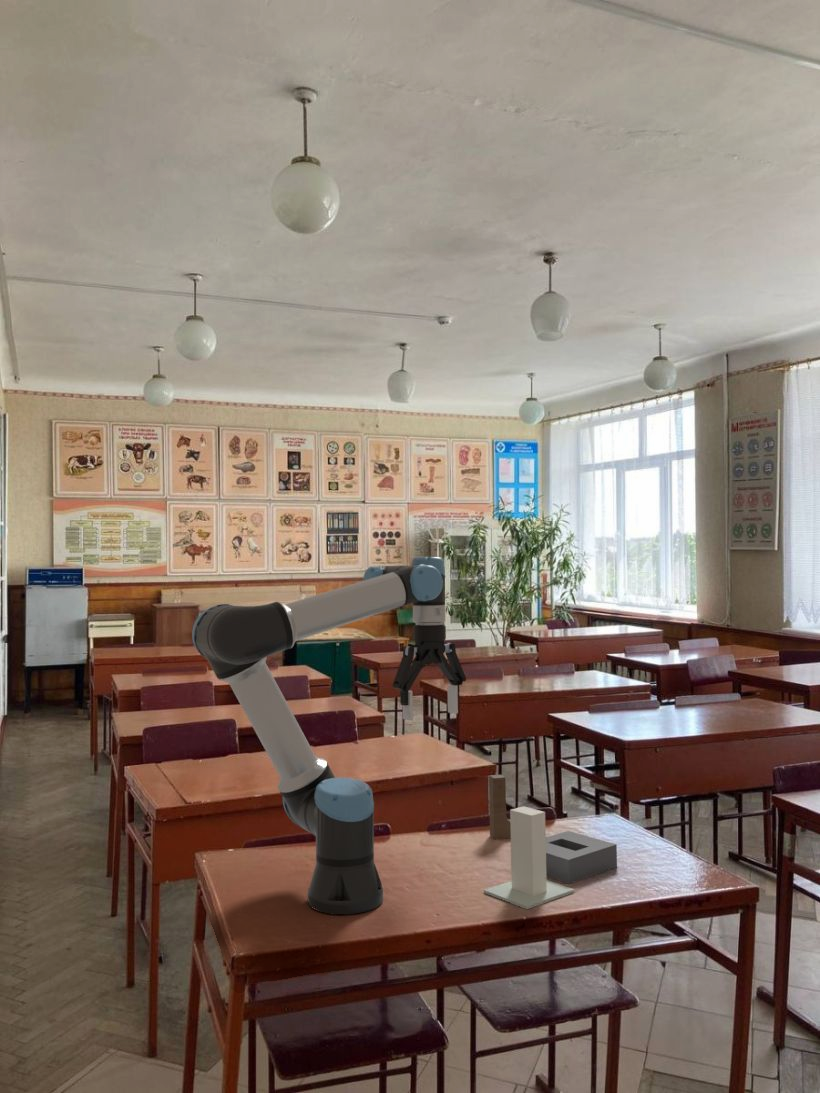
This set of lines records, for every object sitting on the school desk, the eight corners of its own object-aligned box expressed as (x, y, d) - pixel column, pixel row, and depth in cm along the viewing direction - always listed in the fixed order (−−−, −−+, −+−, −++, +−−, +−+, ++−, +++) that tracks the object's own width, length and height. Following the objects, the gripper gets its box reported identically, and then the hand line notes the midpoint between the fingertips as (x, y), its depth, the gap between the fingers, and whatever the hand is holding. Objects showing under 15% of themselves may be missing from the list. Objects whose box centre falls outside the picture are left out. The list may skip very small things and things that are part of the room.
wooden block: (494, 839, 220) (493, 778, 221) (489, 836, 224) (488, 775, 224) (519, 837, 222) (518, 776, 223) (514, 833, 225) (512, 773, 226)
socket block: (569, 883, 188) (568, 859, 189) (520, 867, 199) (520, 844, 199) (617, 867, 199) (616, 844, 199) (568, 852, 209) (568, 830, 210)
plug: (533, 896, 180) (531, 815, 181) (511, 888, 185) (510, 809, 185) (546, 891, 183) (545, 812, 183) (525, 883, 187) (523, 806, 188)
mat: (526, 909, 175) (526, 906, 175) (483, 892, 184) (483, 889, 184) (574, 892, 183) (574, 889, 183) (531, 877, 193) (531, 874, 193)
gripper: (396, 627, 196) (398, 724, 196) (479, 621, 212) (481, 712, 211) (376, 625, 202) (377, 720, 202) (458, 620, 218) (460, 708, 217)
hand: (430, 716), depth 207 cm, fingers open, 13 cm apart
